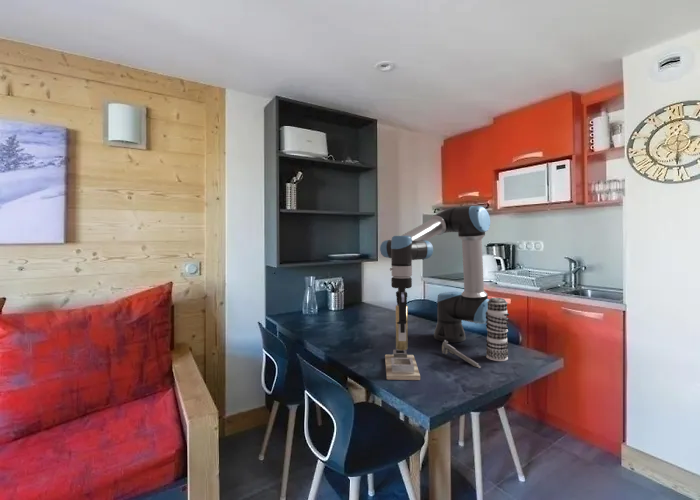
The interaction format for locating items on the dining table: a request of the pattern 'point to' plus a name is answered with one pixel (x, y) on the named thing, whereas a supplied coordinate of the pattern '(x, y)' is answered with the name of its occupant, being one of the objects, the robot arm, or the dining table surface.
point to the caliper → (457, 353)
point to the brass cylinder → (399, 344)
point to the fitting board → (401, 366)
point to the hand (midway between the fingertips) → (401, 338)
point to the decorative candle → (497, 329)
